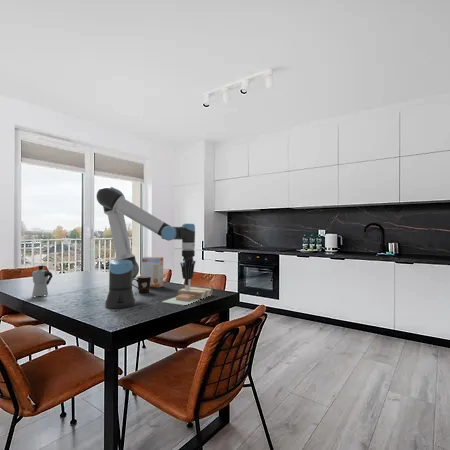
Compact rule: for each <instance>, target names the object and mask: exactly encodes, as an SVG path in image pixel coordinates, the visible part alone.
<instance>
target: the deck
mask: <svg viewBox="0 0 450 450" xmlns="http://www.w3.org/2000/svg"><path fill="white" fill-rule="evenodd" d="M181 294H190V295H195V299H202V300H204V299H207V298H209V297H208V296H210V297H211V295H212V296H213V288H207V287H198V286H190V290H189V291H188V290H185V287H184V288H180V289H178V290H177V296H178V295H181ZM206 297H207V298H206ZM203 298H204V299H203Z"/></svg>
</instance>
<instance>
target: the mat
mask: <svg viewBox="0 0 450 450" xmlns="http://www.w3.org/2000/svg"><path fill="white" fill-rule="evenodd" d="M198 300H199V301H201V300H200V299H192V300H190V301H181V300H176V296H175V297H172V298H169V299H165V300H163V301H161V303H163V304H170V305H178V306H184V305H187V306H189V305H192V304H194V303H196V301H197V302H199V301H198ZM193 302H194V303H193ZM191 303H192V304H191ZM188 304H189V305H188Z"/></svg>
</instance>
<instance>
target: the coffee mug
mask: <svg viewBox="0 0 450 450" xmlns="http://www.w3.org/2000/svg"><path fill="white" fill-rule="evenodd" d="M136 278H137V279H136ZM136 278H134V279H132V282H133V281H136V282H137V286H136V285H135V284H133V283H132V287H135V288H137V290H138V294H148V293H150V288H151V287H150V281H151V276H142V275H139V276H138V275H137V276H136Z"/></svg>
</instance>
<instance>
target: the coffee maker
mask: <svg viewBox="0 0 450 450" xmlns="http://www.w3.org/2000/svg"><path fill="white" fill-rule="evenodd" d="M43 268H44V265H38V269H37V270H33V271H32V272H31V274H32V282H33V289H32V294H31V297H32V296H44V295H48V296H49V291H48V285H49V284H50V282H51V280H52V278H53V273H52V272H51V271H50V270H47V269H46V270H45V269H43Z"/></svg>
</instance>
